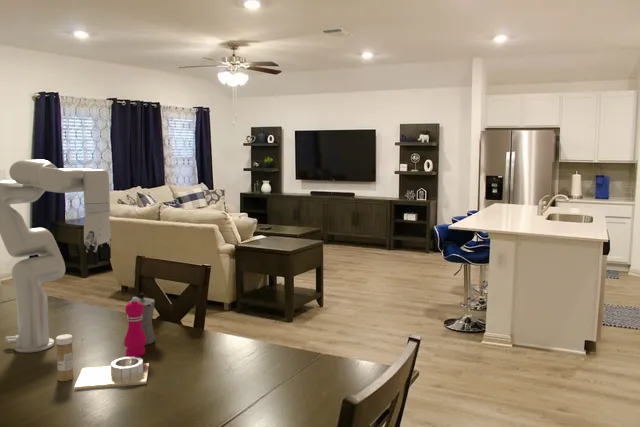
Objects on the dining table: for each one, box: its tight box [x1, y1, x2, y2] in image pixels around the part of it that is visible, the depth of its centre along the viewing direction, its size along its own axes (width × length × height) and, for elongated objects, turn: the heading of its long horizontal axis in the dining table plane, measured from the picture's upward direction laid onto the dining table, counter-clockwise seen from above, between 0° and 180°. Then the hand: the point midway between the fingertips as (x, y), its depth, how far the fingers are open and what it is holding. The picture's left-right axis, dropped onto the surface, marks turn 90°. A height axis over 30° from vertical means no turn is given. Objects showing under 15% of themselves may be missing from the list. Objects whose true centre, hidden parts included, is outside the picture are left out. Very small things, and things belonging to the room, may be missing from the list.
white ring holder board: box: [73, 356, 150, 391], centre depth 167 cm, size 20×14×4 cm
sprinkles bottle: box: [55, 333, 75, 382], centre depth 165 cm, size 5×5×14 cm
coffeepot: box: [128, 292, 156, 346], centre depth 199 cm, size 15×9×18 cm, turn 44°
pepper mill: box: [123, 296, 146, 357], centre depth 186 cm, size 7×7×20 cm
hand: (99, 261), depth 174 cm, fingers open, 9 cm apart
